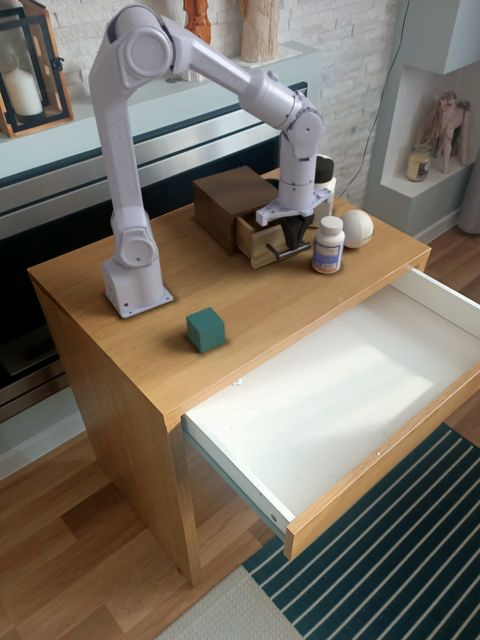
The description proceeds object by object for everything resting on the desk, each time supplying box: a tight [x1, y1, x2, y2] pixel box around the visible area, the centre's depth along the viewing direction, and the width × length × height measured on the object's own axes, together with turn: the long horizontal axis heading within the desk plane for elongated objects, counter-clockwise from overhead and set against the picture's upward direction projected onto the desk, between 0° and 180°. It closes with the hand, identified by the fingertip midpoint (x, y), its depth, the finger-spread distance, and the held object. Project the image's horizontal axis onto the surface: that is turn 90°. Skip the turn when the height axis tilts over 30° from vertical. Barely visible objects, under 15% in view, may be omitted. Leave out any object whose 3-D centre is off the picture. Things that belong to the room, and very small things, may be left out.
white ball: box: [339, 209, 375, 249], centre depth 108 cm, size 10×7×7 cm
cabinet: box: [192, 165, 279, 254], centre depth 111 cm, size 15×13×9 cm
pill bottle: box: [311, 215, 345, 275], centre depth 102 cm, size 5×5×10 cm
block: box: [185, 306, 226, 354], centre depth 89 cm, size 4×4×4 cm
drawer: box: [234, 208, 312, 269], centre depth 105 cm, size 18×11×7 cm, turn 33°
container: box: [309, 153, 337, 229], centre depth 112 cm, size 8×8×13 cm
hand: (292, 247), depth 99 cm, fingers closed, pressing on drawer
